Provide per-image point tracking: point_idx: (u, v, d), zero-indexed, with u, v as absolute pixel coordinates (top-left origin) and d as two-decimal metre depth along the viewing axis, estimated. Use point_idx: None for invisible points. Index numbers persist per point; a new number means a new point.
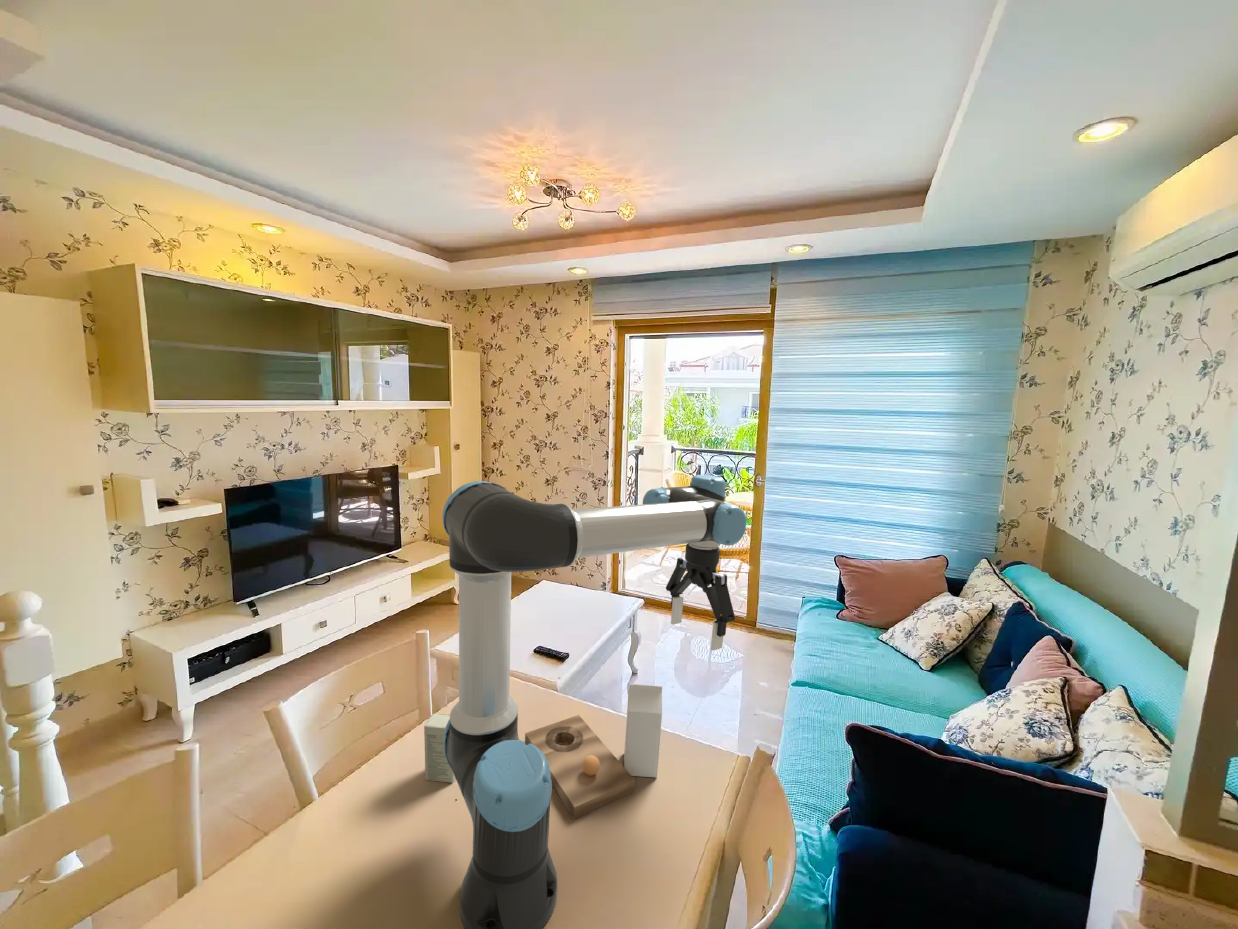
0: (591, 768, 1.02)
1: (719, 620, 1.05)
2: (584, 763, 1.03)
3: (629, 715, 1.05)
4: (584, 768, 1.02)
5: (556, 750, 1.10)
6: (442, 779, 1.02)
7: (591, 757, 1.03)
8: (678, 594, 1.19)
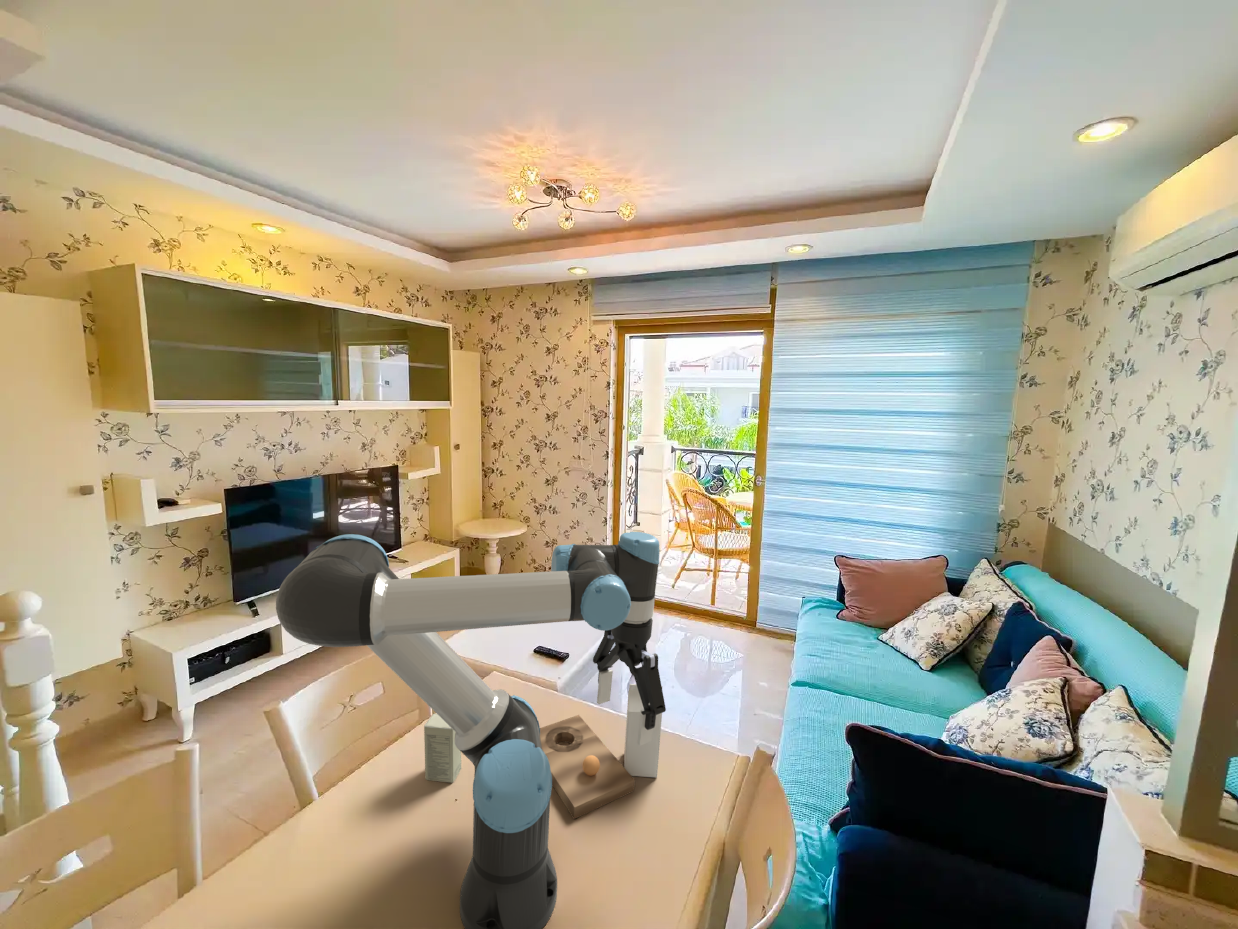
0: (591, 768, 1.02)
1: (647, 711, 0.87)
2: (584, 763, 1.03)
3: (629, 715, 1.05)
4: (584, 768, 1.02)
5: (556, 750, 1.10)
6: (442, 779, 1.02)
7: (591, 757, 1.03)
8: (606, 668, 1.01)
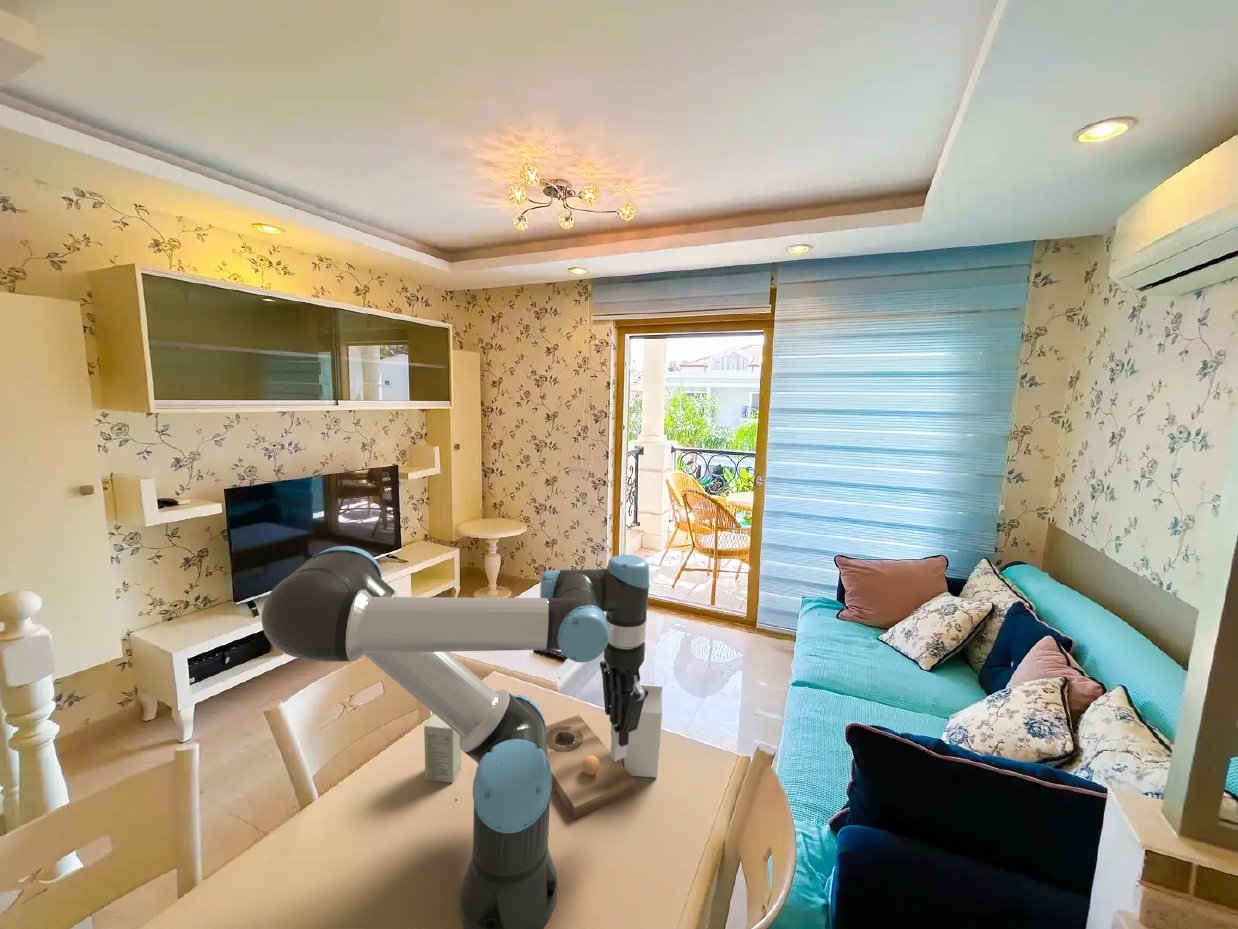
0: (591, 768, 1.02)
1: (619, 731, 0.92)
2: (584, 763, 1.03)
3: None
4: (584, 768, 1.02)
5: (556, 750, 1.10)
6: (442, 779, 1.02)
7: (591, 757, 1.03)
8: None
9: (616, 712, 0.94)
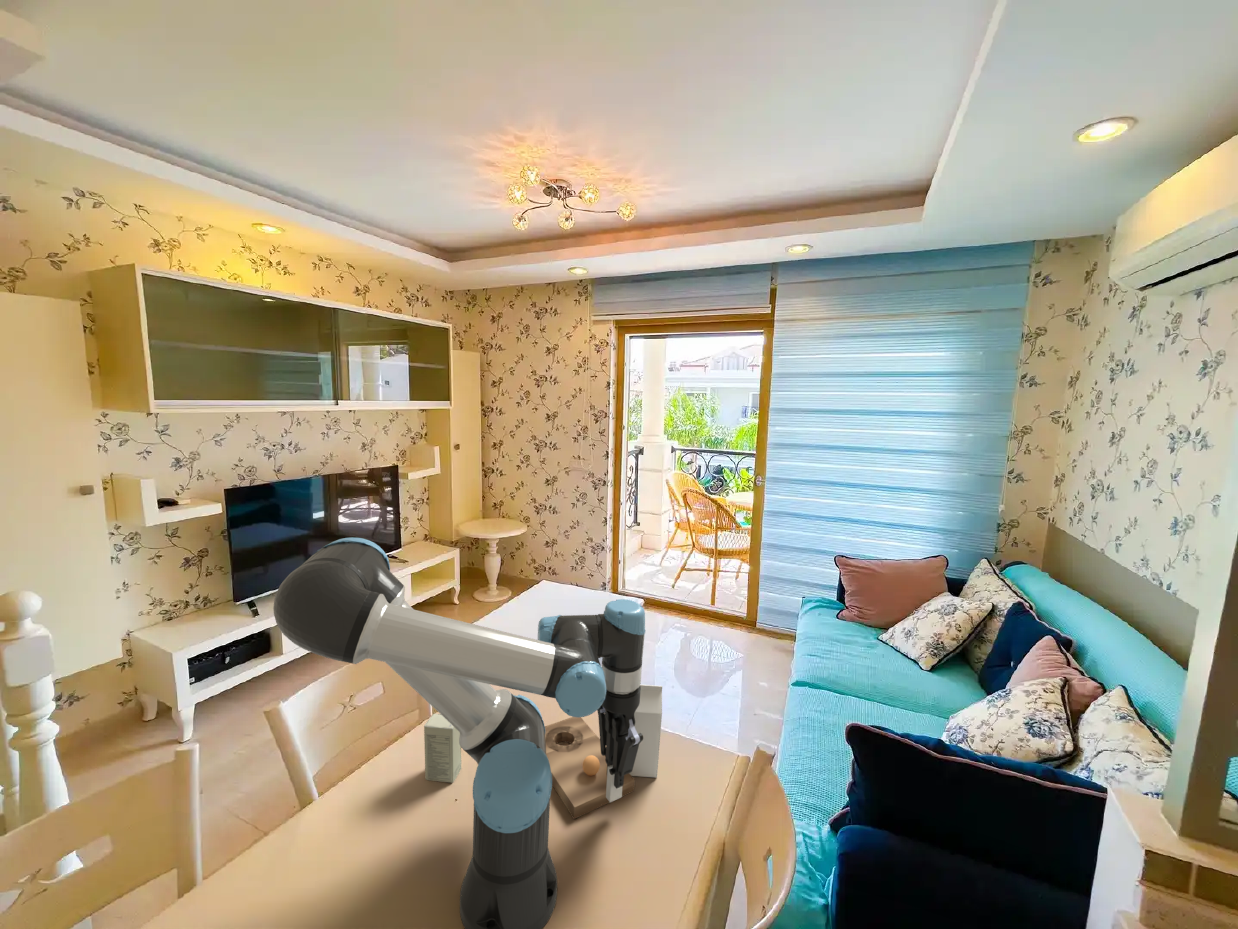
0: (591, 768, 1.02)
1: (614, 773, 0.93)
2: (584, 763, 1.03)
3: None
4: (584, 768, 1.02)
5: (556, 750, 1.10)
6: (442, 779, 1.02)
7: (591, 757, 1.03)
8: None
9: (612, 754, 0.95)
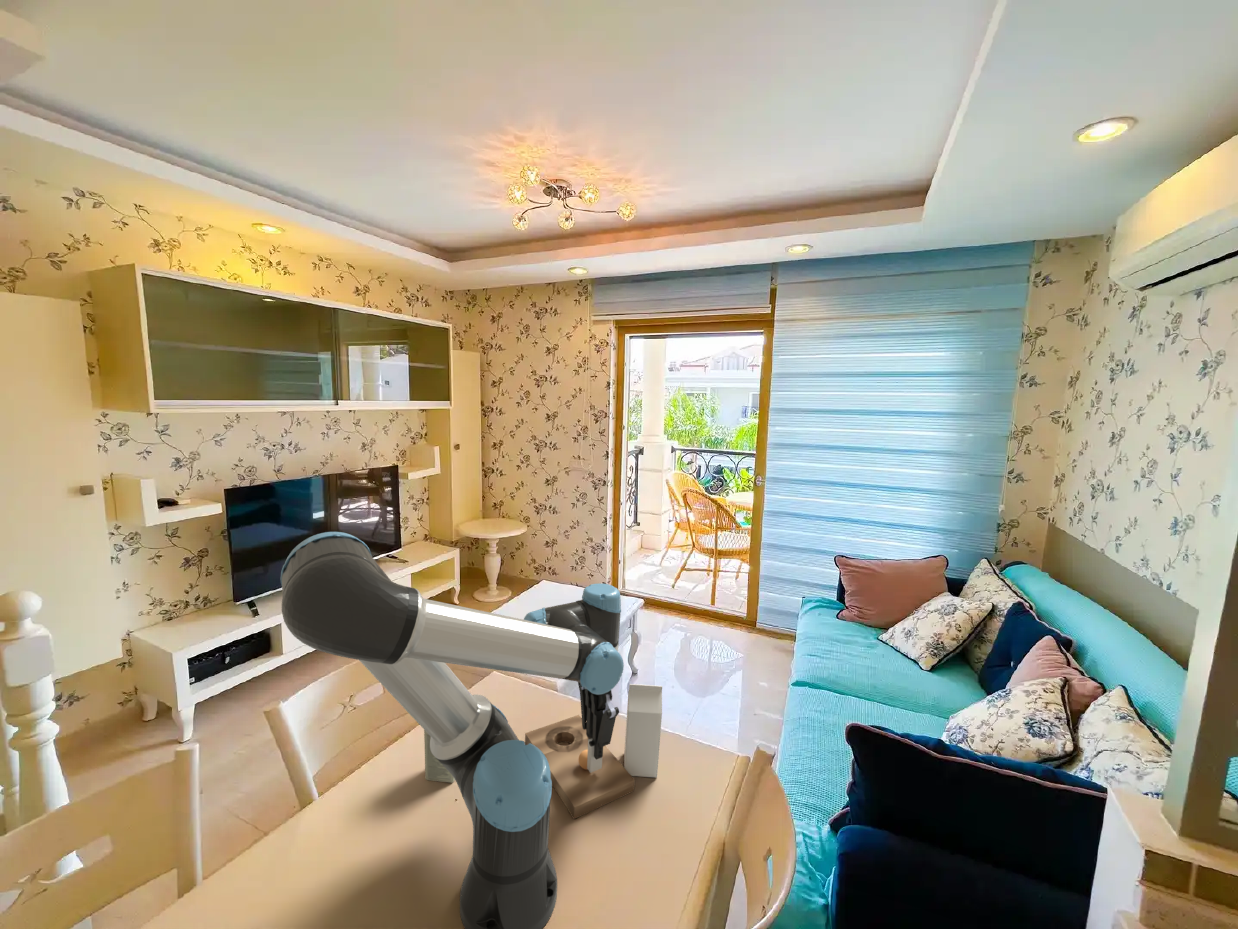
0: (584, 754, 1.04)
1: (593, 745, 1.00)
2: None
3: (629, 715, 1.05)
4: (579, 760, 1.04)
5: (556, 750, 1.10)
6: (442, 779, 1.02)
7: None
8: None
9: (592, 727, 1.02)
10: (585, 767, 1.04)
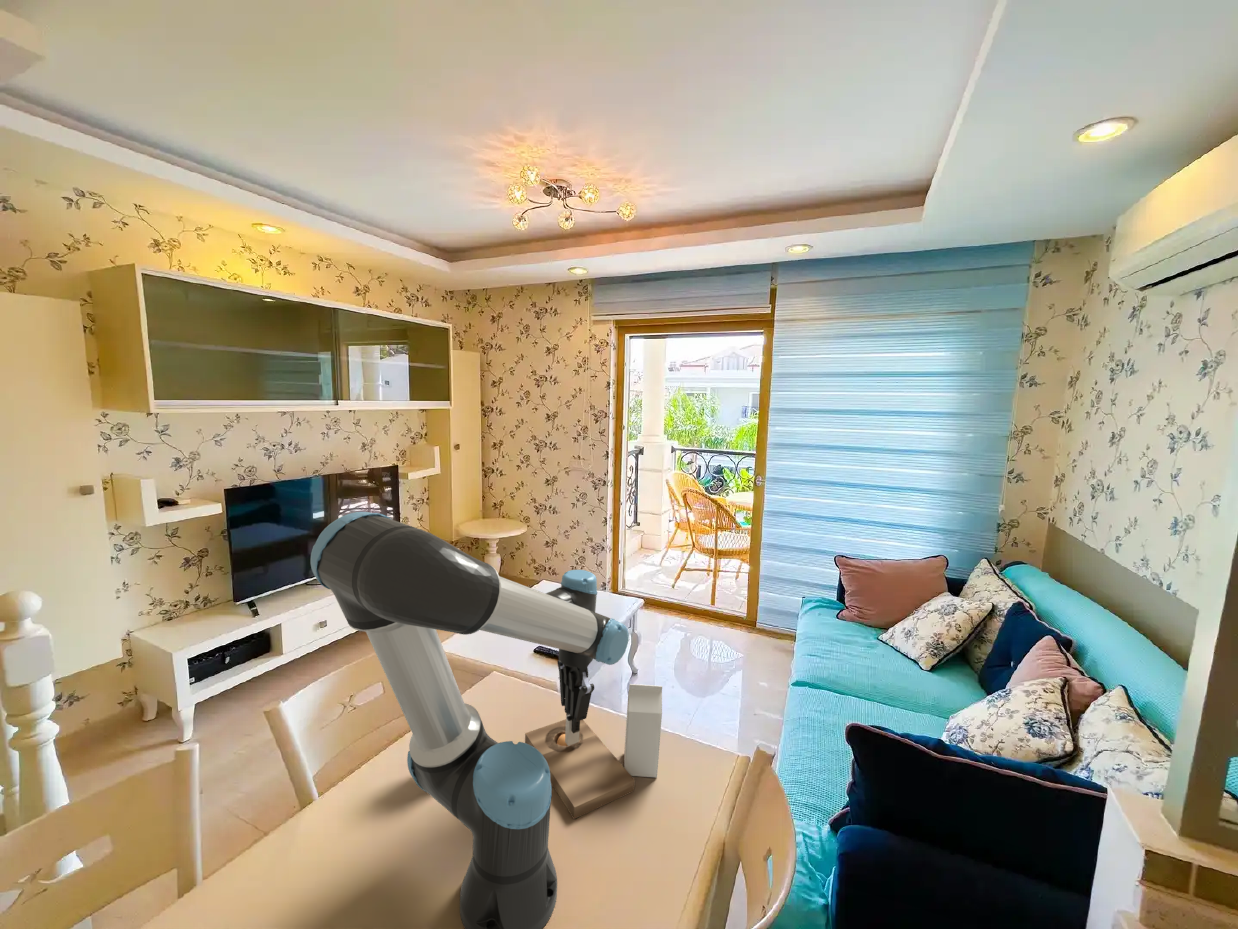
0: (562, 743, 1.12)
1: (571, 719, 1.08)
2: (557, 743, 1.13)
3: (629, 715, 1.05)
4: None
5: (556, 750, 1.10)
6: None
7: (561, 735, 1.14)
8: None
9: (570, 704, 1.10)
10: None
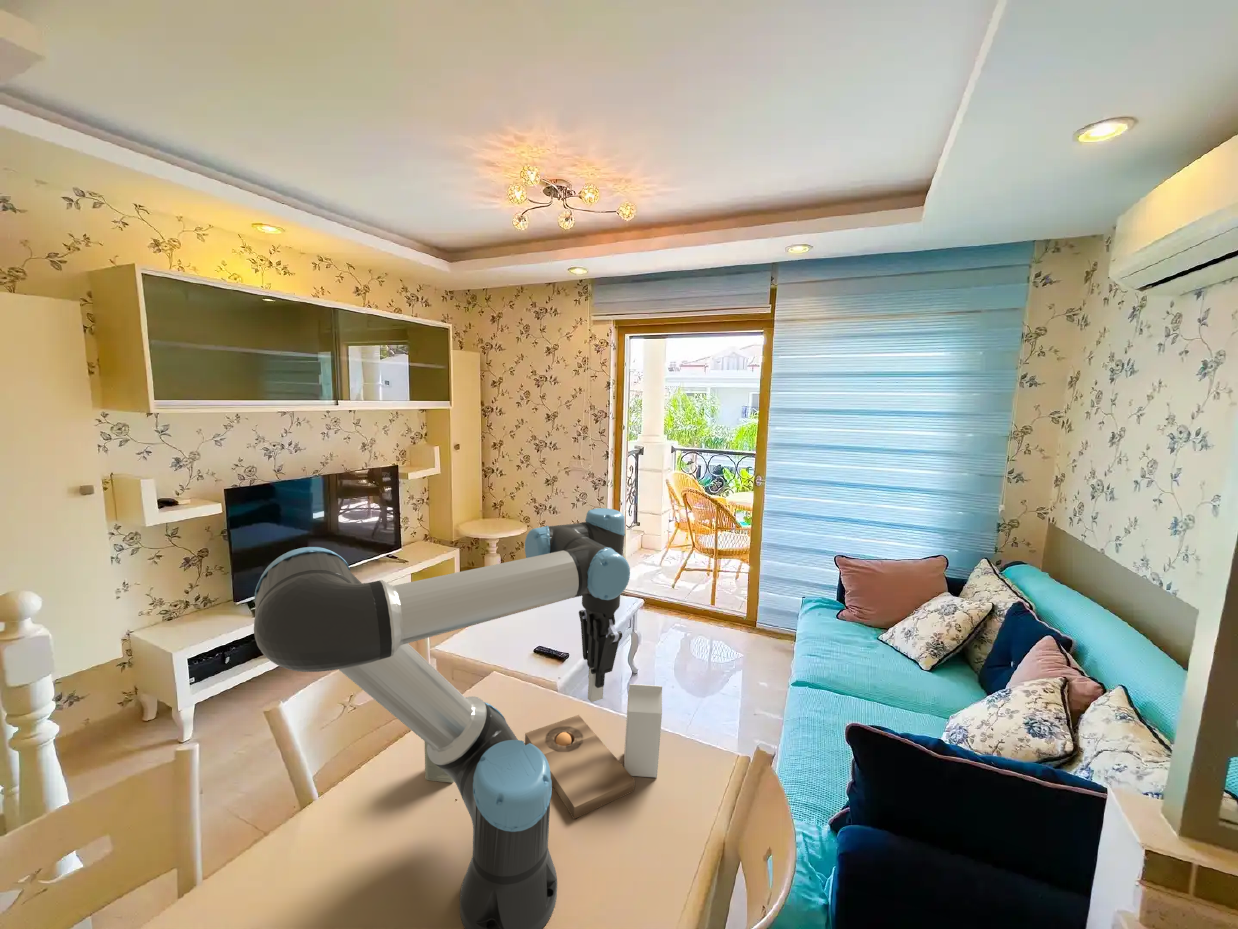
0: (559, 739, 1.13)
1: (595, 672, 0.98)
2: None
3: (629, 715, 1.05)
4: None
5: (556, 750, 1.10)
6: (442, 779, 1.02)
7: None
8: None
9: (593, 656, 1.00)
10: None
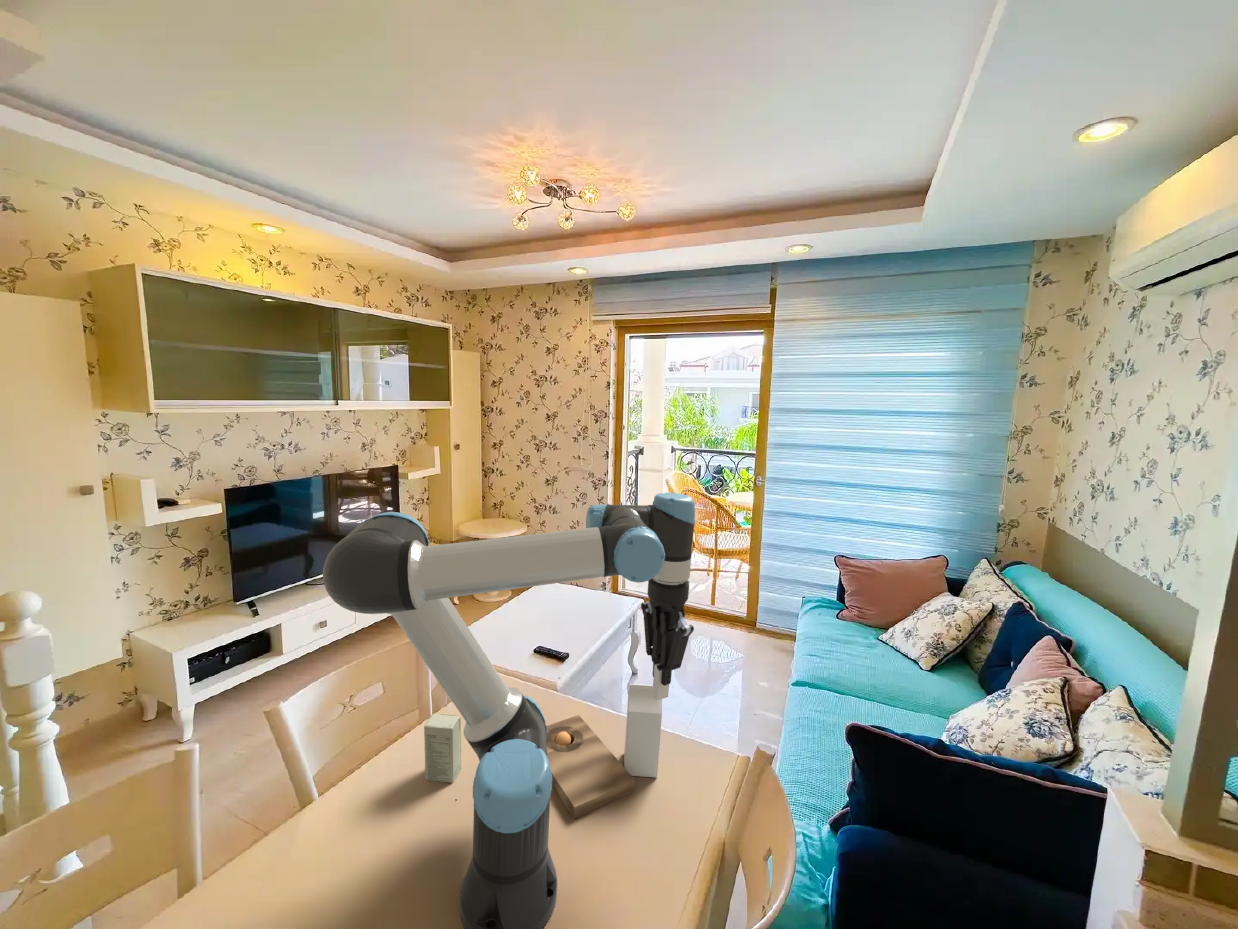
0: (558, 738, 1.13)
1: (662, 669, 0.92)
2: None
3: (629, 715, 1.05)
4: None
5: (556, 750, 1.10)
6: (442, 779, 1.02)
7: None
8: None
9: (658, 651, 0.94)
10: None
